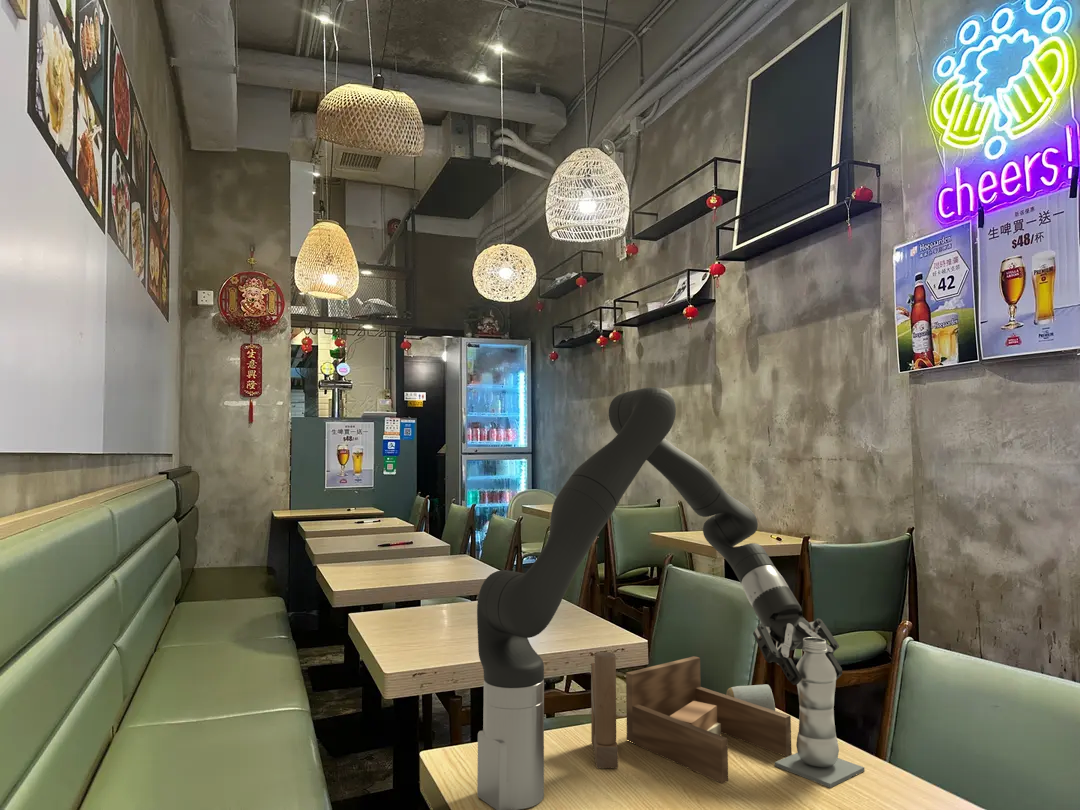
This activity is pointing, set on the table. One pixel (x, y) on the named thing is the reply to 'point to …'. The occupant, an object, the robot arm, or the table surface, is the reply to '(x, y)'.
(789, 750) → the walnut rack
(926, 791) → the table surface
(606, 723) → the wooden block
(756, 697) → the ceramic mug
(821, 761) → the silver bottle
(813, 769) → the slate mat
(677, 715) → the tan rectangular block
